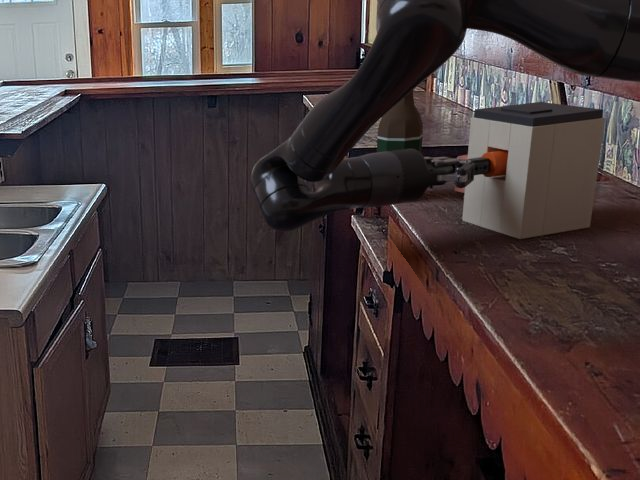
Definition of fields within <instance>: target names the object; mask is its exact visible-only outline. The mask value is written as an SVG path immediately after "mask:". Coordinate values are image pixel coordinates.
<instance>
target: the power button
mask: <svg viewBox="0 0 640 480" xmlns="http://www.w3.org/2000/svg"><path fill="white" fill-rule="evenodd" d="M482 157H483V158H488V159H490V170H489V172H488V173H487V174H483V175H484V176H485V177H494V176H501V175H506V169H507V160H508V150H502V151H495V152H487V153H485V154H483V155H482Z"/></svg>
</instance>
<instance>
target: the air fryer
mask: <svg viewBox="0 0 640 480" xmlns="http://www.w3.org/2000/svg"><path fill="white" fill-rule="evenodd" d="M603 115H604V109H601V108H595V107H586V106H578V105H570V104H561V103H555V102H554V103H552V102H545V101H536V102H528V103H517V104H512V105H501V106H493V107H483V108H475V109H474V112H473V117H470V124H469V125H470V126H469V137H468V148H467V149H468V150H467V155H468V159H471V158H479V157H482V155H483V154H485V153H487V152H495V151H502V150H508V160H507V169H506V175H501V176H494V177H485V176H484V175H483V174H481V175H474V180H473V181H472V182H471V183H470V184H469V185H467V186H466V187H465V193H464V195H463V196H464V198H463V207H462V218H461V219H462V222H465V223H469V224H471V225H475V226H476V227H477V226H478V227H481V228H483V229H487V230H489V231H492V232H496V233H499V234H503V235H506V236H508V237H512V238H515V239H518V240H523V239H529V238H534V237H541V236H547V235H552V234H558V233H565V232H570V231H577V230H581V229H589V228H591V221H592V214H593V208H594V202H595V194H596V187H597V180H598V174H599V166H600V160H601V152H602V147H603V146H602V145H603V138H604V131H605V125H606V118H605V117H603Z"/></svg>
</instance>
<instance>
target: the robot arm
mask: <svg viewBox="0 0 640 480" xmlns="http://www.w3.org/2000/svg"><path fill="white" fill-rule="evenodd" d="M376 3H377V4H376V19H375V31H376V35H375V37H374V39H373V42H372V44H371V46H370V48H369V50H368V52H367V54H366V56H365V58H364V60H363V61H362V63H361V65H360V66H359V68H358V69H357V70H356V72H355V73H354V74H353V75H352V76H351V78H349V80H347V81H346V82H345V83H344V84H343V85H341V86H340V87H338V88H336V89H334V90H333V91H331V92H329V93H328V94H326V95H324V96H323V97H322V98H321V99H320V100H319V101H318V102H317V103H315V104H314V105H313V106H312V108H311V109H310V110H309V111H308V113H307V114H306V115H305V117H304V118H303V119H302V121H301V122H300V123H299V125H298V126H297V127H296V129H295V130H294V131H293V133H292V134H291V136H290V137H289V138H288V139H287V140H285V141H284V142H282V143H281V144H280V145H278V146H277V147H276V148H275V149H273V150H272V151H270V152H269V153H267V154H265V155H264V156H262V157H261V158H260V159H259V160H257V162H256V163H255V164H254V166H253V168H252V170H251V174H250V187H251V189H252V192H253V194H254V196H255V199H256V201H257V205H258V207H259V210H260V212H261V215H262V217H263V219H264V221H265V223H266V225H267V226H268V227H269V228H271V229H272V230H275V231H277V232H285V233H286V232H287V233H288V232H292V231H295V230H298V229H300V228H302V227H304V226H306V225H307V224H309V223H312V222H314V221H316V220H318V219H320V218H323V217H325V216H329V215H330V214H333V213H336V212H339V211H348V210H353V209H360V208H380V207H386V206H394V205H401V204H407V203H414V202H417V201H418V200H420V199H422V197H424V194H425V193H426V191H428V189H431V190H436V189H437V190H438V189H441V188H443V187H444V186H450V185H454V186H455V185H456V187H458V188H464V187H466V186H467V185H469V184H470V183H471V182H472V181H473V180H474V175H481V174H487V173H488V172H489V170H490V159H488V158H483V157H479V158H471V159H464V160H463V159H461V158H457V157H456V158H452V157H451V156H424V155H423V154H422V153H420V152H419V151H417V150H415V149H411V148H409V149H401V150H393V151H385V152H377V151H376V152H370V153H366V154H362V155H358V156H353V157H347V156H348V154H350V153H351V151H352V150H353V149H354V147H355V146H356V145H357V144H358V143H359V141H360V140H361V139H362V138H363V137H364V136H365V135H366V134H367V132H368V131H369V130H370V129H372V127H373V126H374V125H375V124H376V123H377V122H378V121H380V120H381V118H382V116H383V115H385V114H386V113H387V112H388V111H389V110H390V109H391V108H393V107H394V106H395V105H396V104H397V103H398V102H400V101H401V100H402V99H403V98H404V97H405V96H406V95H408V94H409V93H410V92H411V91H412V90H413V91H414V90H415V89H416V88H417V87H418V86H420V85H421V84H422V83H424V81H426V80H427V79H428V78H429V77H430V76H431V75H432V74H434V73H435V72H437V70H439V69H440V68H442V67H443V65H445V64H446V63H447V61H449V60H450V59H451V58H452V57H453V56H454V55H455V53H456V52H457V51H458V50H459V49H460V48H461V46H462V44H463V42H464V40H465V38H466V34H467V32H468V31H467V30H475V31H481V32H482V31H483V32H487V33H492V34H496V35H498V36H499V35H500V36H503V37H505V38H508V39H510V40H512V41H514V42H516V43H518V44H520V45H522V46H524V47H525V48H527V49H529V50H530V51H532V52H533V53H535V54H536V55H538V56H540V57H542V58H544V59H545V60H547V61H549V62H551V63H553V64H554V65H556V66H558V67H560V68H563V69H565V70H567V71H569V72H572V73H574V74H577V75H581V76H587V77H592V78H600V79H606V80H607V79H608V80H615V81H621V82H633V83H640V0H376ZM307 182H309V183H312V188H313V189H312V191H311V190H310V187H309V185H308V183H307Z"/></svg>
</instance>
